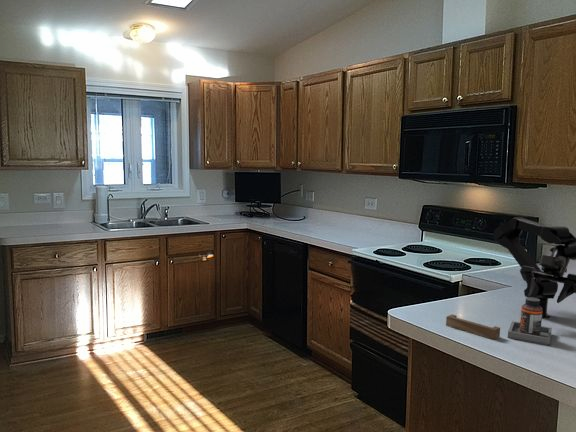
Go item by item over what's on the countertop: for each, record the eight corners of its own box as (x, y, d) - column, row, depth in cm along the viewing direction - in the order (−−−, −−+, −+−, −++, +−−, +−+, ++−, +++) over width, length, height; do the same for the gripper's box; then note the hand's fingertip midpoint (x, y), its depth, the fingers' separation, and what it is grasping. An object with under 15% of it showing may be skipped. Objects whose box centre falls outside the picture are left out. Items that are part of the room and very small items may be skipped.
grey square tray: (511, 327, 164) (512, 321, 164) (551, 334, 159) (551, 327, 159) (507, 337, 154) (508, 331, 154) (549, 345, 149) (550, 339, 149)
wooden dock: (451, 323, 167) (452, 314, 166) (499, 337, 155) (500, 327, 154) (445, 325, 164) (446, 316, 164) (494, 339, 152) (494, 330, 152)
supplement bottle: (515, 330, 159) (518, 296, 158) (533, 330, 160) (536, 296, 158) (525, 337, 154) (528, 301, 152) (544, 337, 154) (547, 301, 153)
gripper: (524, 242, 170) (506, 278, 164) (585, 250, 156) (568, 290, 150) (532, 262, 176) (515, 298, 170) (591, 272, 162) (575, 311, 156)
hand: (542, 299), depth 161 cm, fingers open, 9 cm apart
